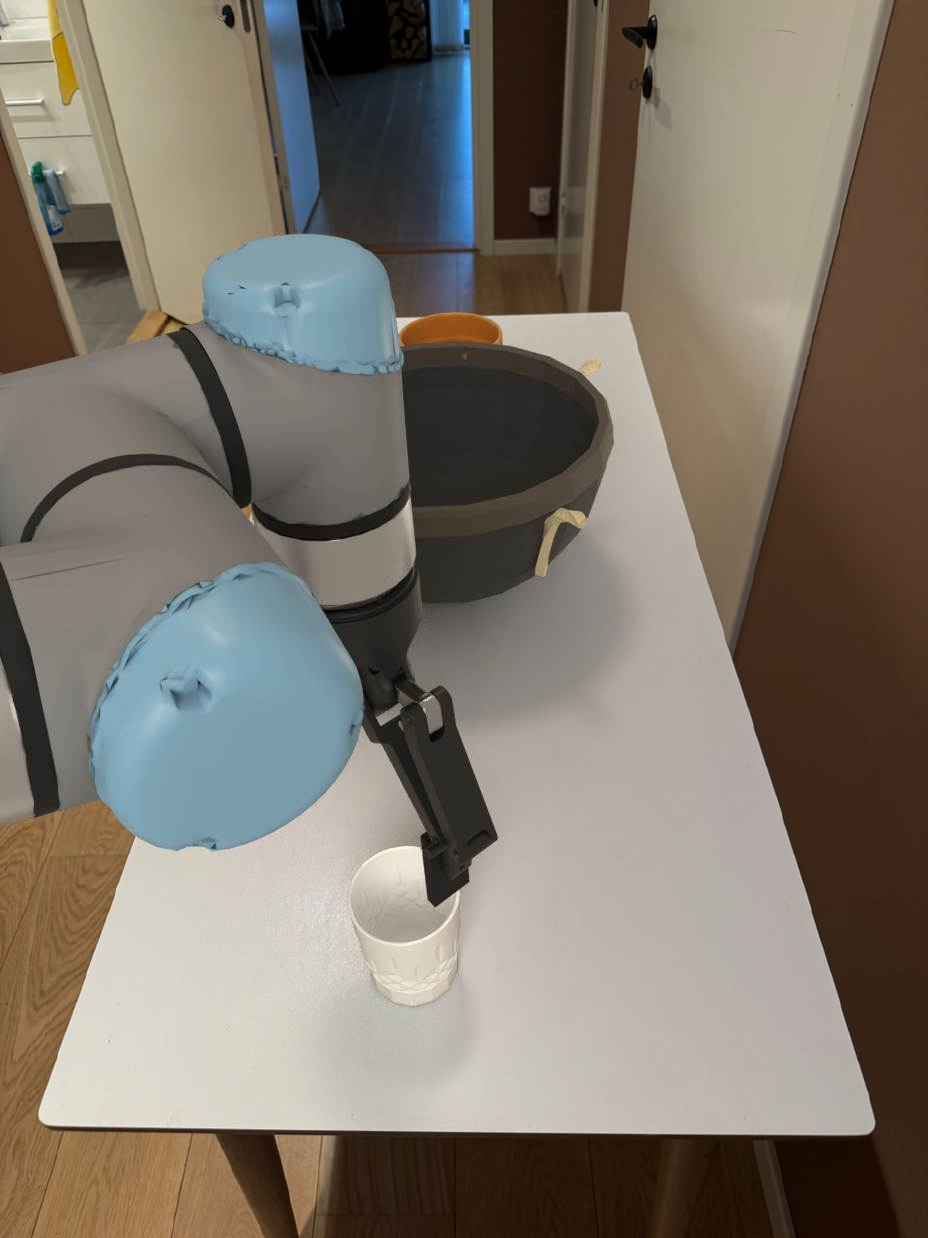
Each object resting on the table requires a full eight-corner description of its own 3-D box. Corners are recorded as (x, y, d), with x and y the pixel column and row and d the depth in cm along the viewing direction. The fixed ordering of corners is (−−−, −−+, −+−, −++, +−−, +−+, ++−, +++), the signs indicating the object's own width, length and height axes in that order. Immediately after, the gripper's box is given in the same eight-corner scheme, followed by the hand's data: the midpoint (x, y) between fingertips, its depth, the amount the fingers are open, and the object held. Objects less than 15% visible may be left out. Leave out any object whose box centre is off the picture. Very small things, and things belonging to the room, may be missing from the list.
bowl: (341, 477, 123) (319, 334, 110) (609, 490, 118) (620, 342, 105) (257, 662, 97) (215, 505, 84) (597, 689, 92) (609, 526, 79)
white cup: (466, 1013, 68) (460, 943, 62) (359, 1016, 68) (342, 947, 62) (464, 916, 74) (459, 843, 67) (366, 920, 74) (351, 847, 68)
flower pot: (397, 443, 129) (388, 356, 120) (414, 394, 139) (407, 310, 131) (498, 446, 127) (496, 358, 119) (507, 396, 138) (507, 312, 129)
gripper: (572, 659, 41) (558, 917, 55) (278, 444, 55) (326, 691, 69) (439, 746, 37) (460, 998, 51) (163, 492, 52) (238, 741, 66)
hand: (383, 822), depth 60 cm, fingers open, 13 cm apart
